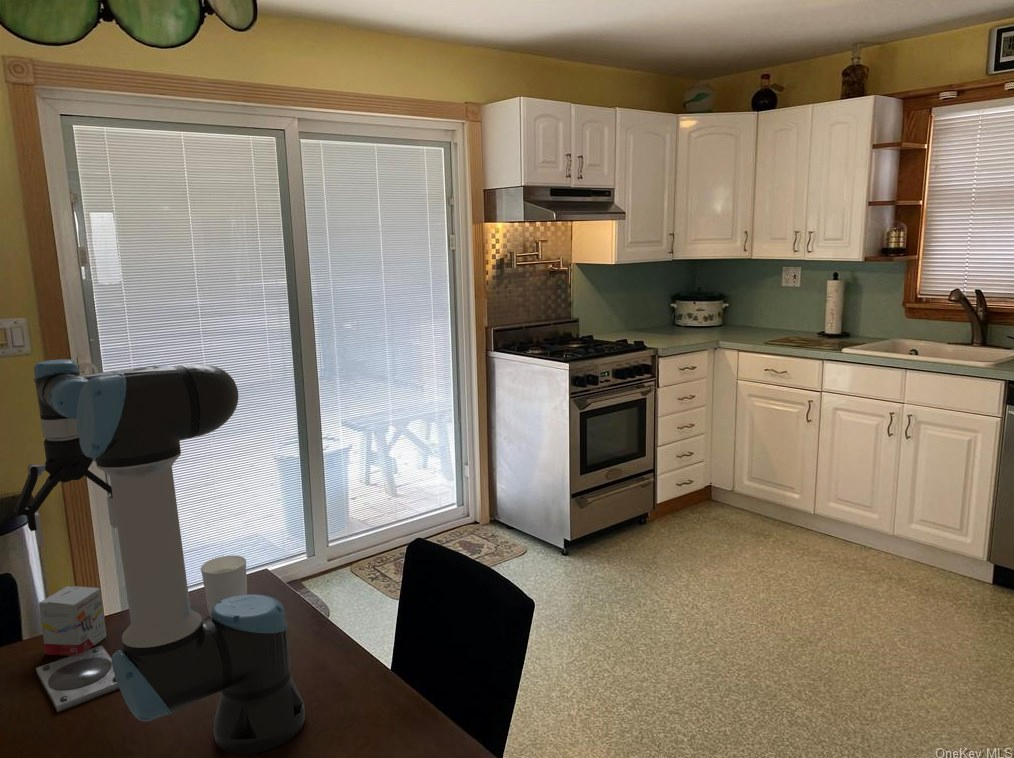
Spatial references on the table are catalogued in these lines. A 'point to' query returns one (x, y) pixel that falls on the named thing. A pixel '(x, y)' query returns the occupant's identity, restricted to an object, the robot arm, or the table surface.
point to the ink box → (72, 620)
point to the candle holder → (224, 579)
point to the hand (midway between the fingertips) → (78, 535)
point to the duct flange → (78, 678)
